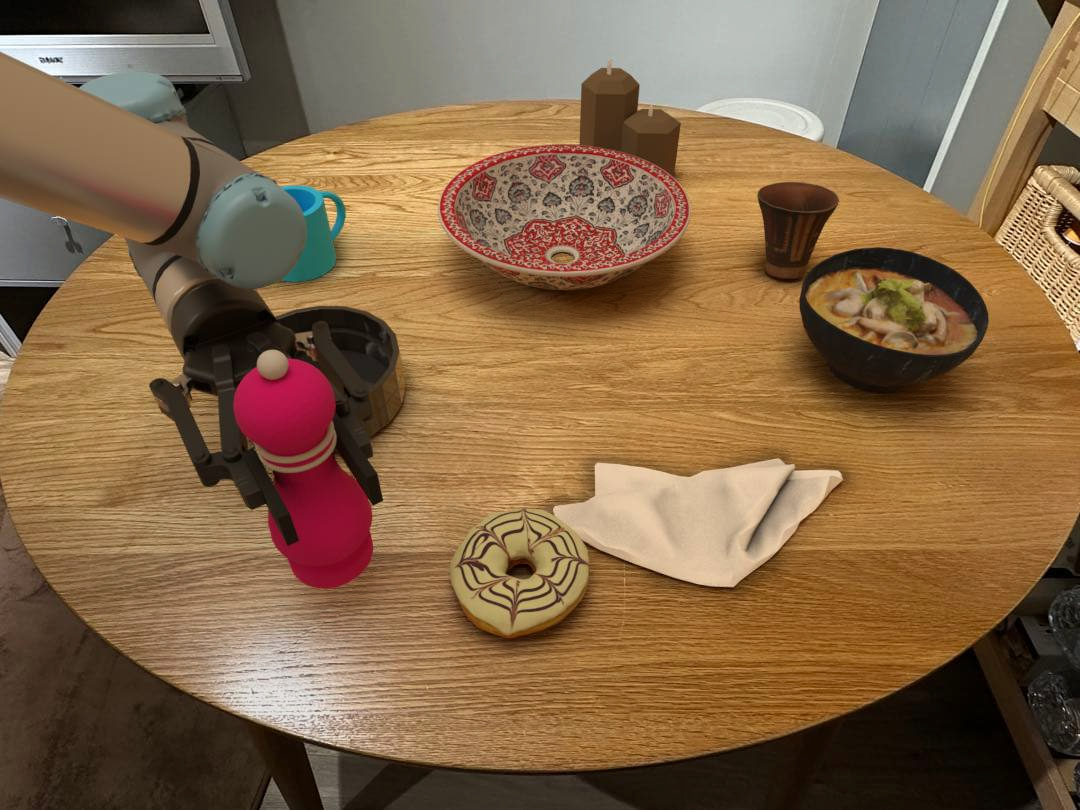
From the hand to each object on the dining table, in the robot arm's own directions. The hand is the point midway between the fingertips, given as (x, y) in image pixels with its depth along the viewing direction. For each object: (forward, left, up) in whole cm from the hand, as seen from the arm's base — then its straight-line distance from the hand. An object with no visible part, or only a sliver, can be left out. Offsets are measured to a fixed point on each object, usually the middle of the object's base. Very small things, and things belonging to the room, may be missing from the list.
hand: (332, 509), depth 48 cm
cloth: (+28, -6, -15) cm, 33 cm away
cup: (+62, +17, -15) cm, 66 cm away
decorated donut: (+12, -3, -15) cm, 19 cm away
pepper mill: (0, +5, -11) cm, 12 cm away
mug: (+16, +51, -15) cm, 56 cm away
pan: (+7, +26, -15) cm, 31 cm away
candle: (+60, +47, -15) cm, 78 cm away
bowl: (+56, -1, -15) cm, 58 cm away
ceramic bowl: (+41, +33, -15) cm, 55 cm away
